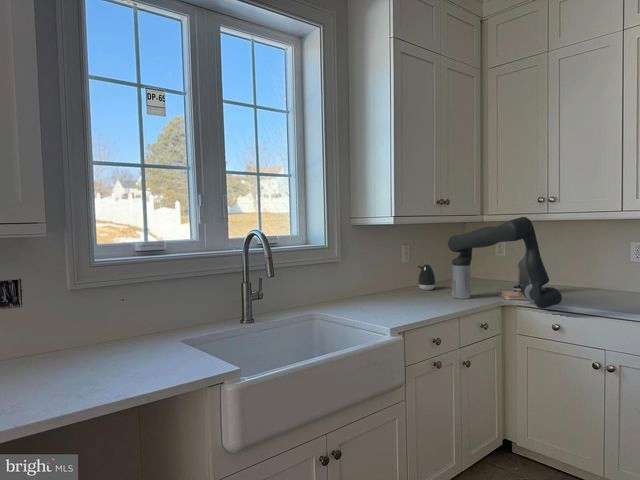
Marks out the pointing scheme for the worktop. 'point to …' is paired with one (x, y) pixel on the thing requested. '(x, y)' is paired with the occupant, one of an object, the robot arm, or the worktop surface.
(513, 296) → the tile
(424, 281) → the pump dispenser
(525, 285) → the robot arm
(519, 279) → the liquor
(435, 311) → the worktop surface
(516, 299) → the mat
